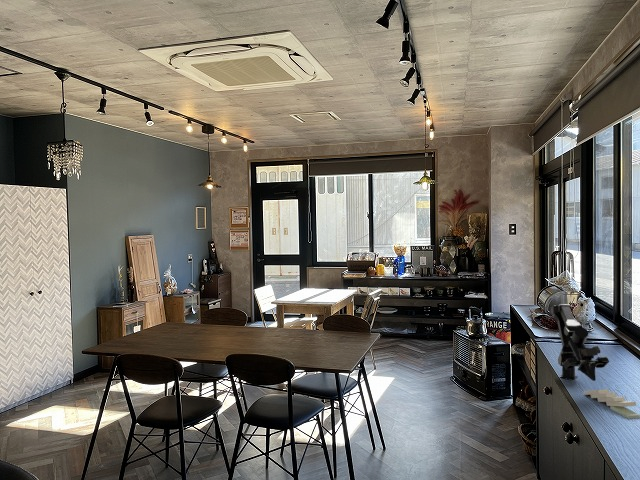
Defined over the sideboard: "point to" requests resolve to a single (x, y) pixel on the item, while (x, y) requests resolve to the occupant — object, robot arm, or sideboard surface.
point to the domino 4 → (621, 403)
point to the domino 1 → (596, 392)
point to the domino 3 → (611, 399)
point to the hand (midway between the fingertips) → (594, 380)
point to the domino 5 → (625, 412)
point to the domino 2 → (603, 395)
